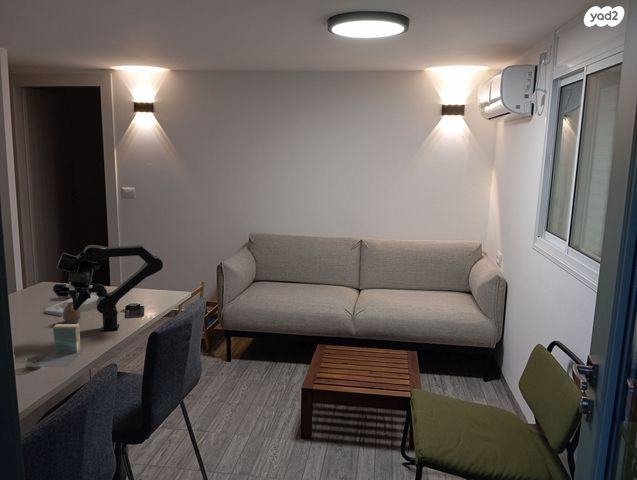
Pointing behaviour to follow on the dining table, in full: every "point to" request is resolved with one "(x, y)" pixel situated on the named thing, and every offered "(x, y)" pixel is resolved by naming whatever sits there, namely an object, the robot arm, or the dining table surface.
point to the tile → (66, 338)
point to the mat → (59, 359)
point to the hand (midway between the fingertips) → (75, 309)
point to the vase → (71, 314)
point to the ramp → (60, 307)
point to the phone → (135, 313)
